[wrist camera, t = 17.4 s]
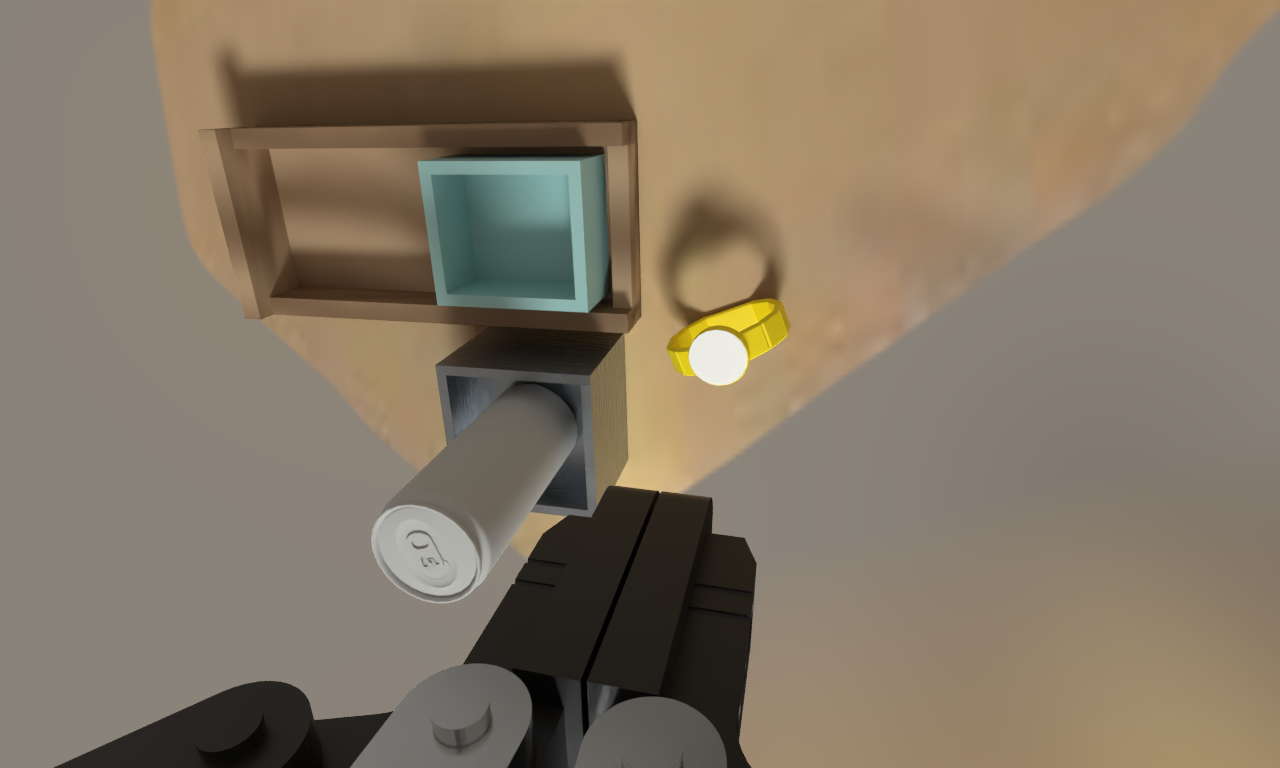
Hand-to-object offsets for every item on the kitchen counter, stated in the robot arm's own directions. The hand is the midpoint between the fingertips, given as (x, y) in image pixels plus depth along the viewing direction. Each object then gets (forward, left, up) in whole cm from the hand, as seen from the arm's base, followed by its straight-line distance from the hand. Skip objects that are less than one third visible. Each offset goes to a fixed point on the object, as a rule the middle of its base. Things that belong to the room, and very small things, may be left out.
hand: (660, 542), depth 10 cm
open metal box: (+10, -12, -27) cm, 31 cm away
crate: (0, -12, -26) cm, 29 cm away
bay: (0, -18, -27) cm, 32 cm away
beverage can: (+10, -12, -23) cm, 28 cm away
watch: (+5, -2, -27) cm, 28 cm away
